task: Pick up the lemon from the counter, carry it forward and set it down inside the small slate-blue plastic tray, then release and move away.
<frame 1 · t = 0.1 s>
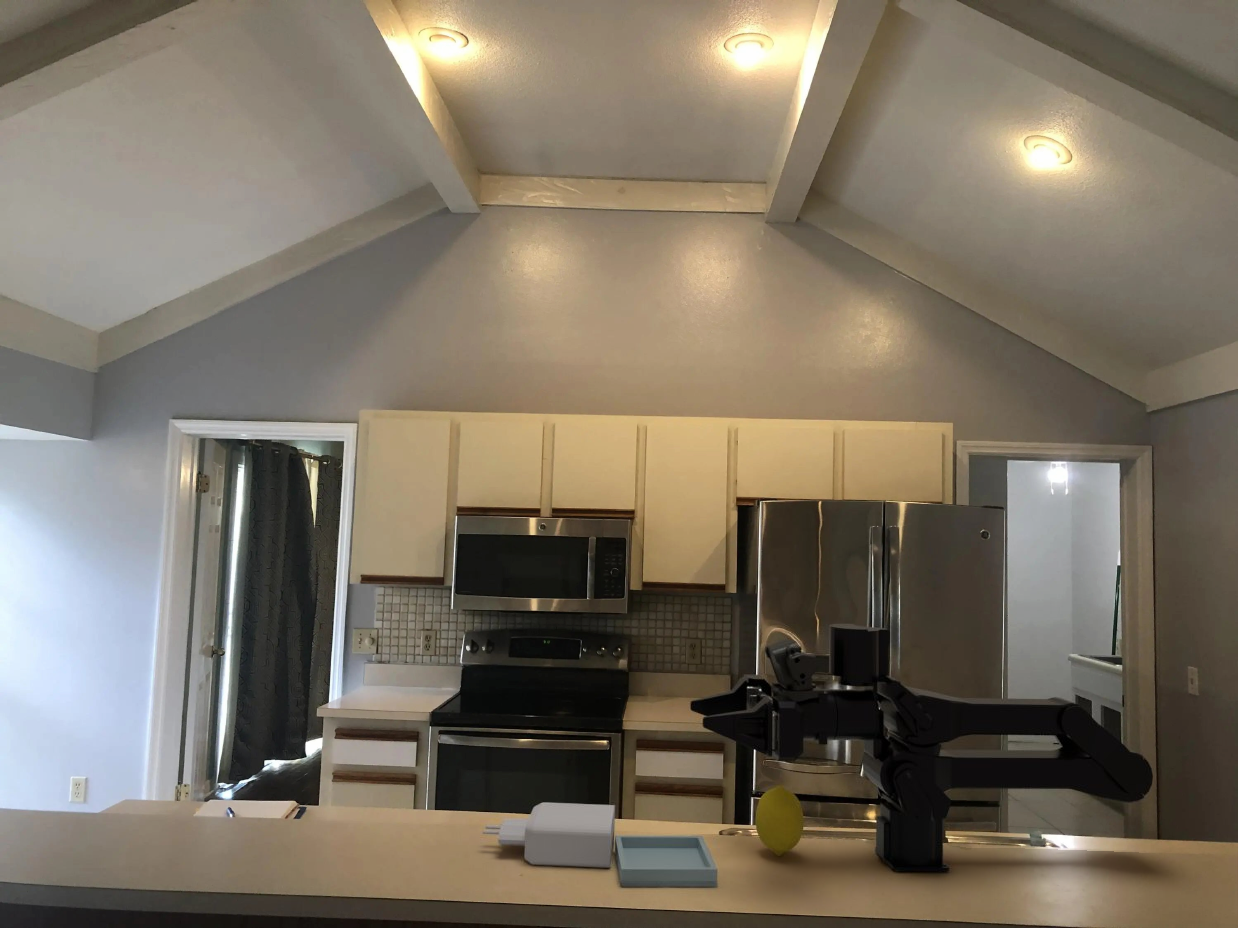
hand: (696, 713, 103), 17 cm above the counter, tool horizontal, fingers open, 9 cm apart
tray: (663, 867, 99), on the counter
charger: (547, 855, 103), on the counter
lemon: (778, 856, 104), on the counter
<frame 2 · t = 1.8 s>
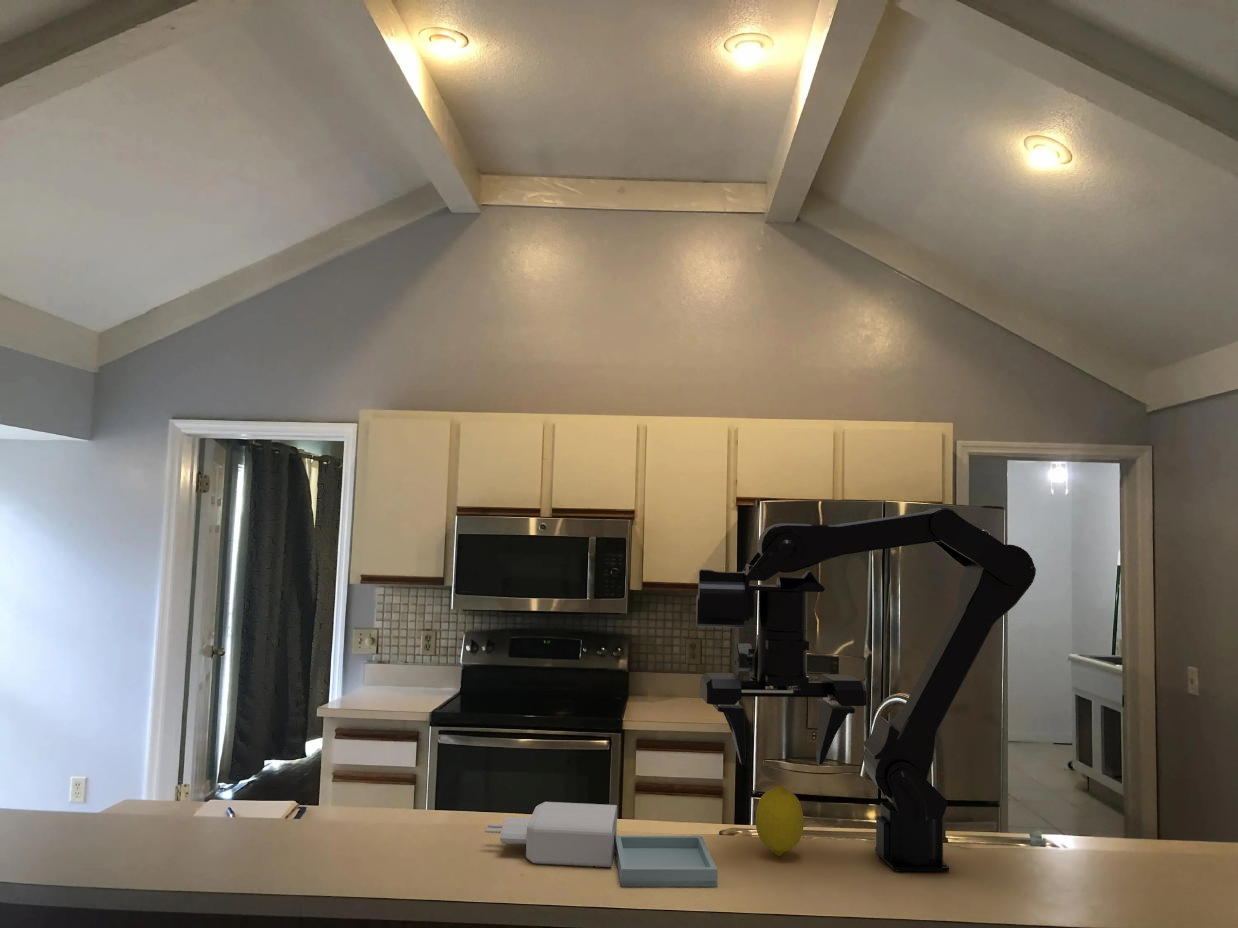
hand: (781, 763, 105), 10 cm above the counter, tool pointing down, fingers open, 9 cm apart
nothing on the counter moved.
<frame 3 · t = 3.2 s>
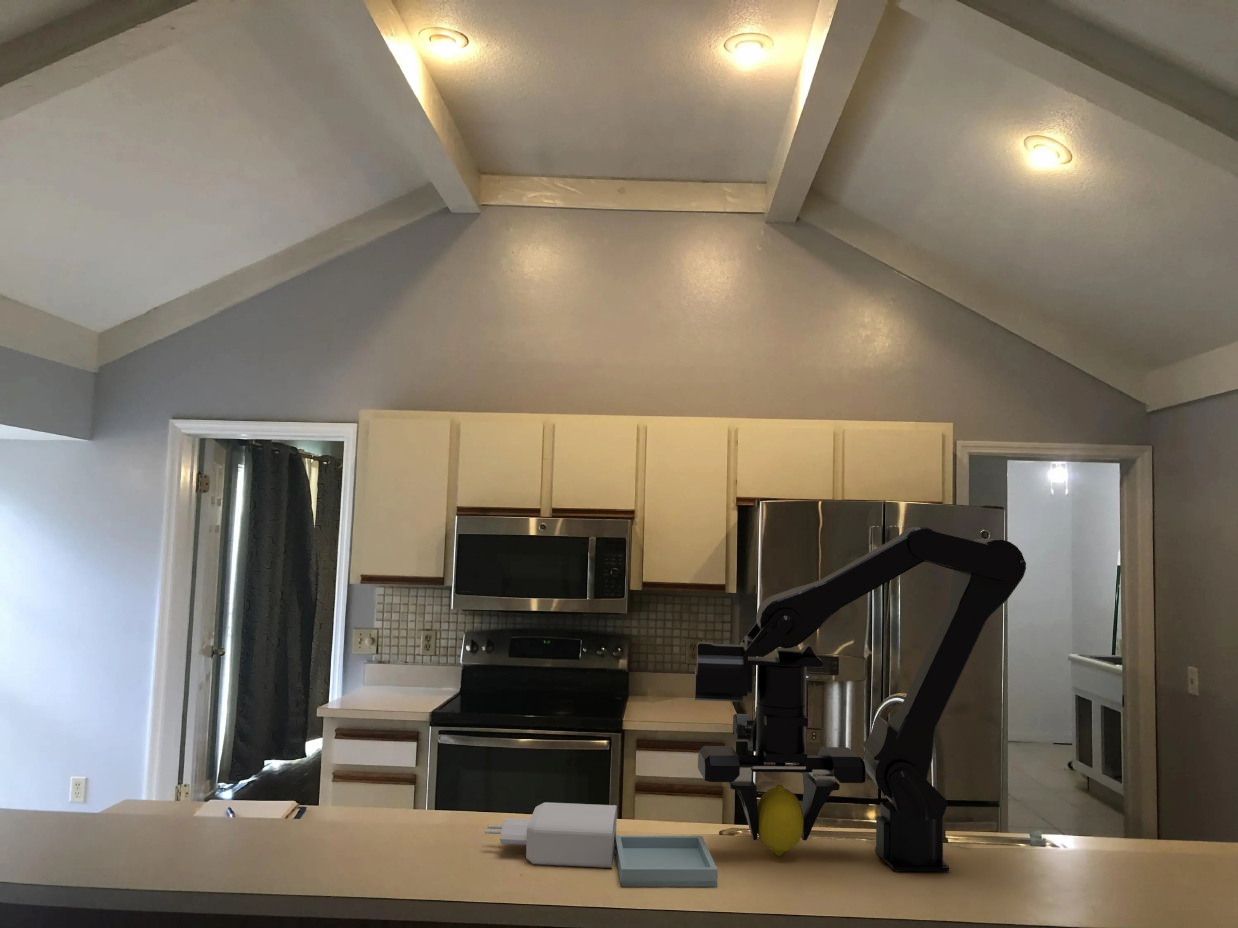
hand: (779, 839, 104), 2 cm above the counter, tool pointing down, fingers closed on lemon, 5 cm apart
lemon: (778, 856, 104), on the counter, touching gripper
everything else where it was.
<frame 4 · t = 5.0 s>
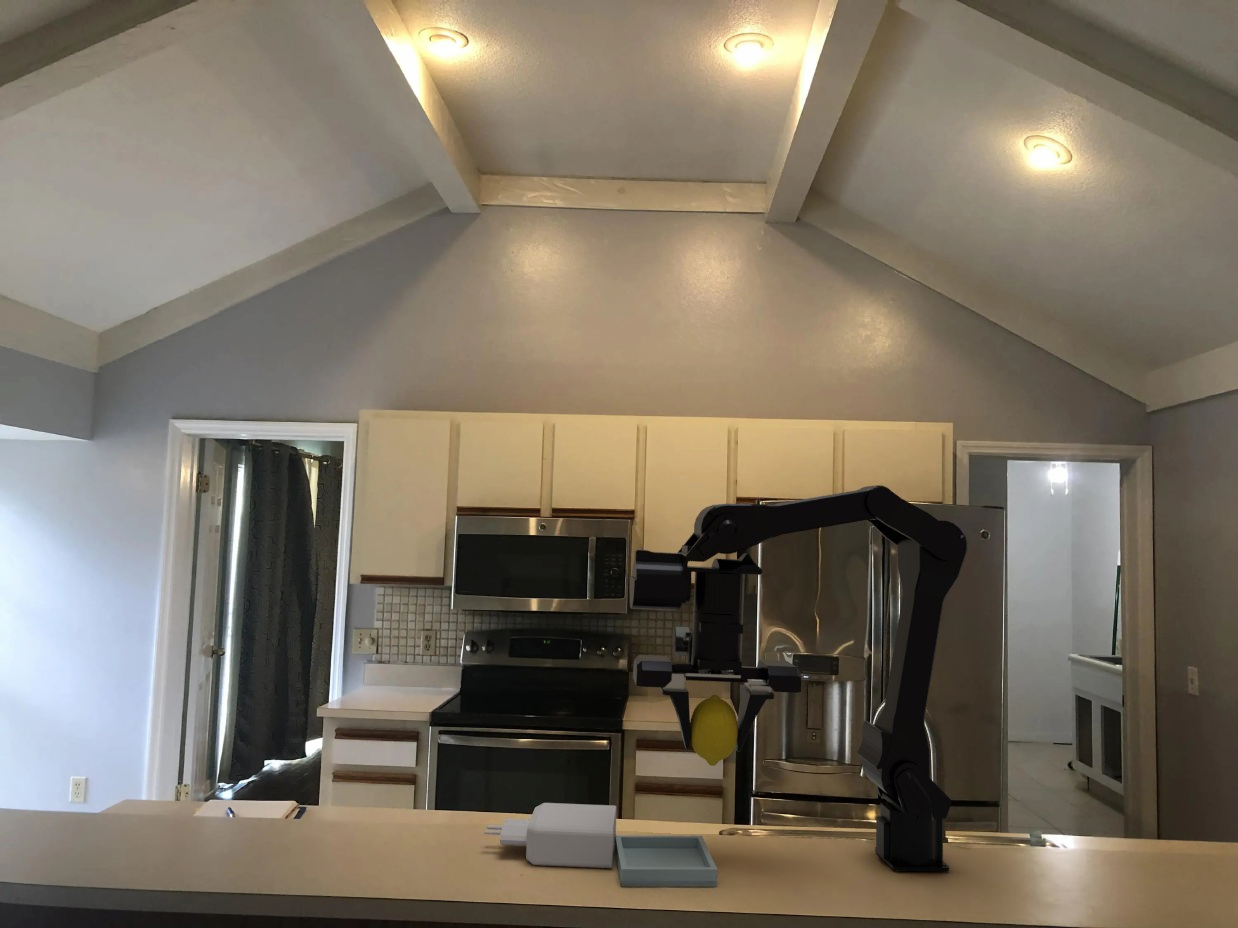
hand: (712, 749, 102), 13 cm above the counter, tool pointing down, fingers closed on lemon, 5 cm apart
lemon: (712, 767, 102), point 11 cm above the counter, touching gripper
everything else where it was.
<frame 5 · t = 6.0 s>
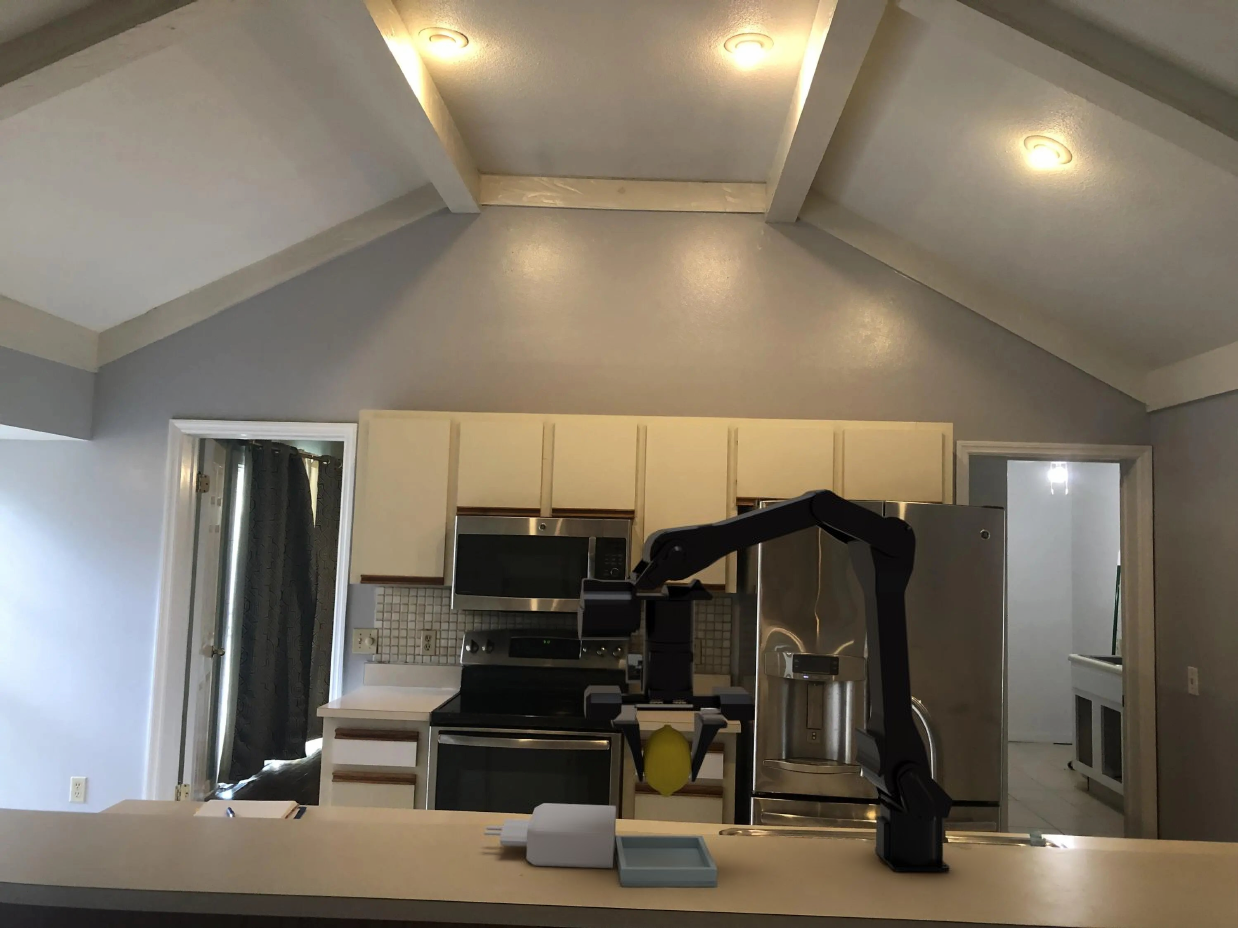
hand: (666, 780, 100), 9 cm above the counter, tool pointing down, fingers closed on lemon, 5 cm apart
lemon: (666, 798, 100), point 7 cm above the counter, touching gripper
everything else where it was.
when the fingers open (4 cm above the counter, at t = 7.3 s): lemon drops 1 cm, resting on tray.
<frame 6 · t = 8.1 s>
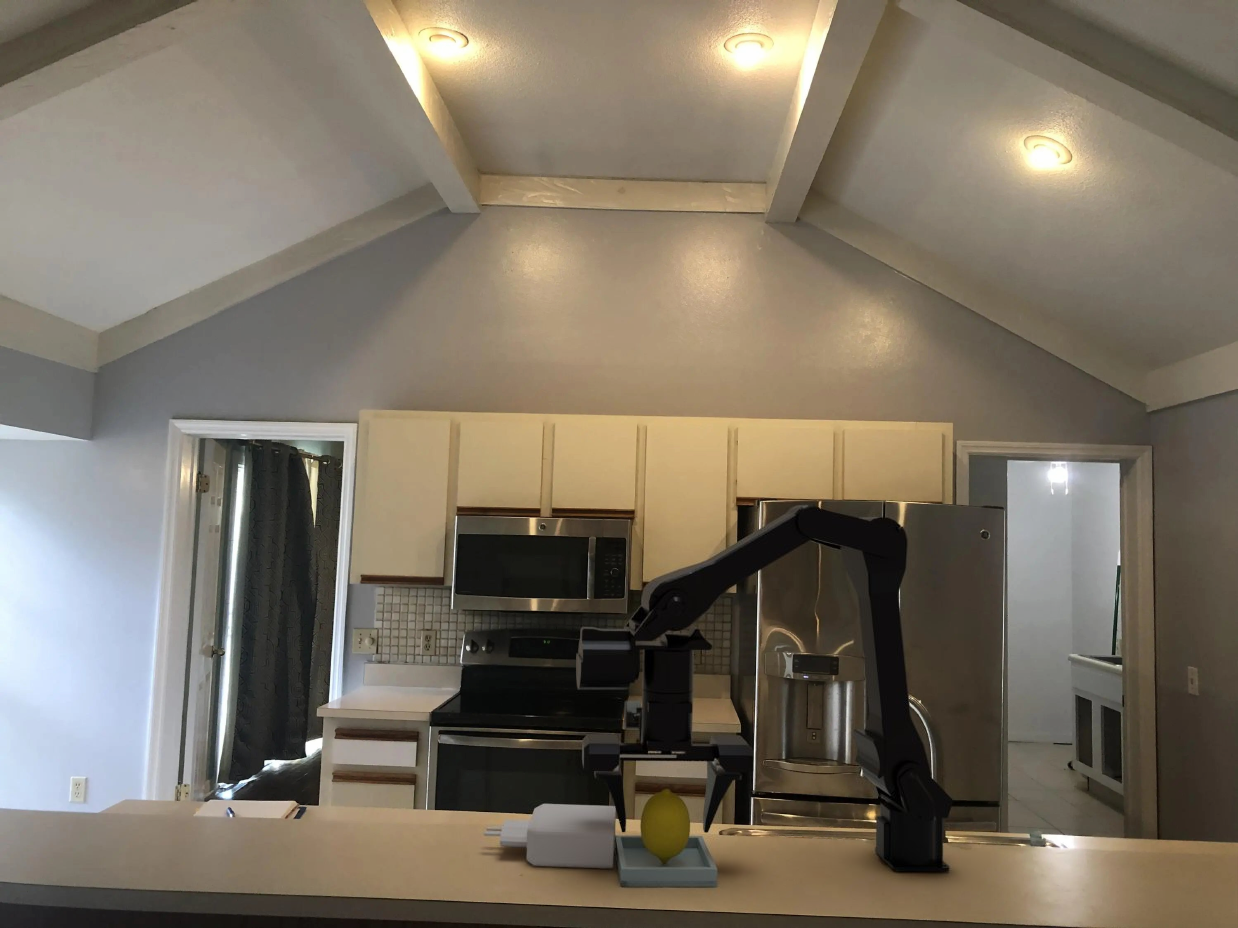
hand: (664, 831, 100), 4 cm above the counter, tool pointing down, fingers open, 9 cm apart
lemon: (664, 864, 99), resting on tray
everything else where it was.
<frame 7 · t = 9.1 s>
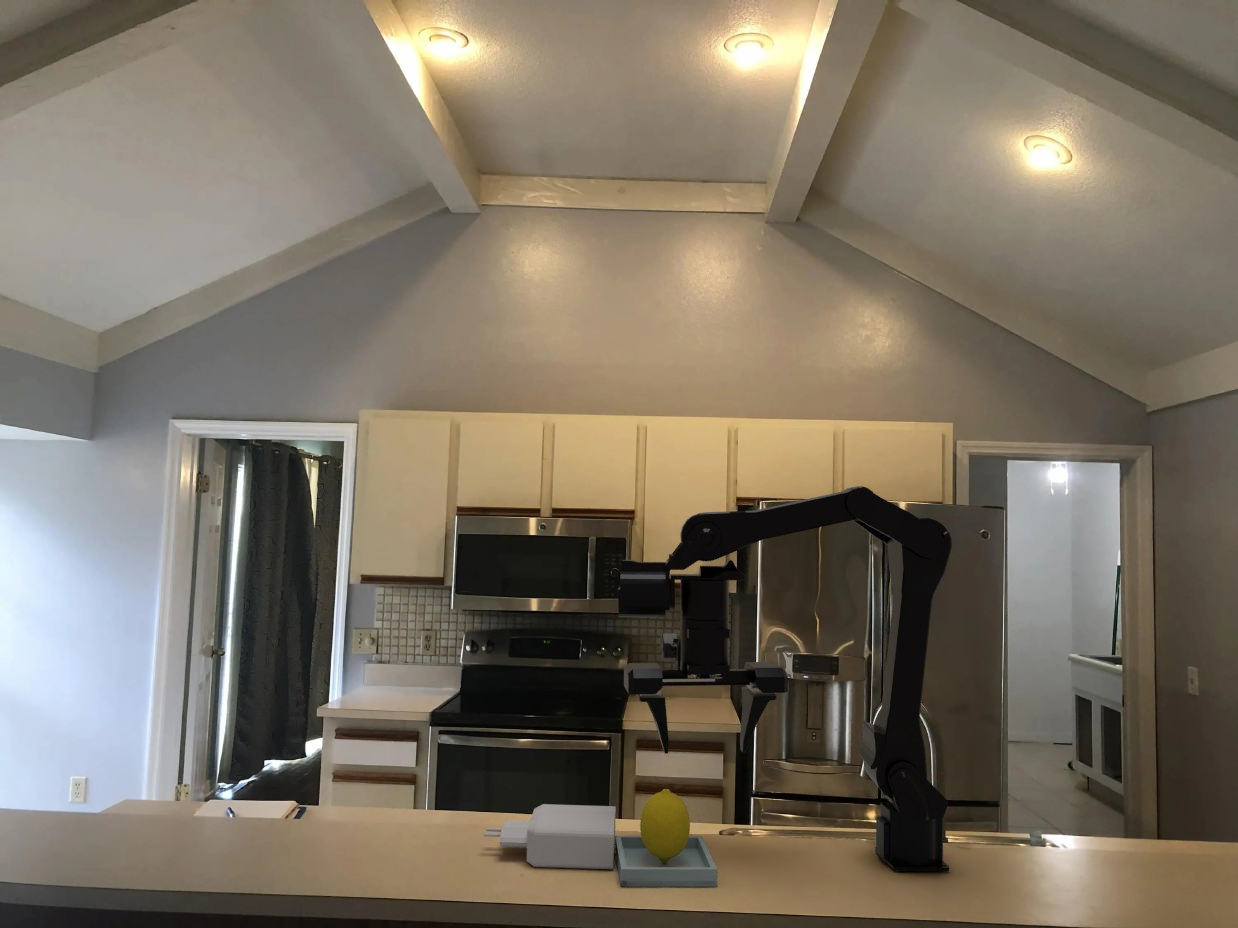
hand: (704, 751, 105), 12 cm above the counter, tool pointing down, fingers open, 9 cm apart
nothing on the counter moved.
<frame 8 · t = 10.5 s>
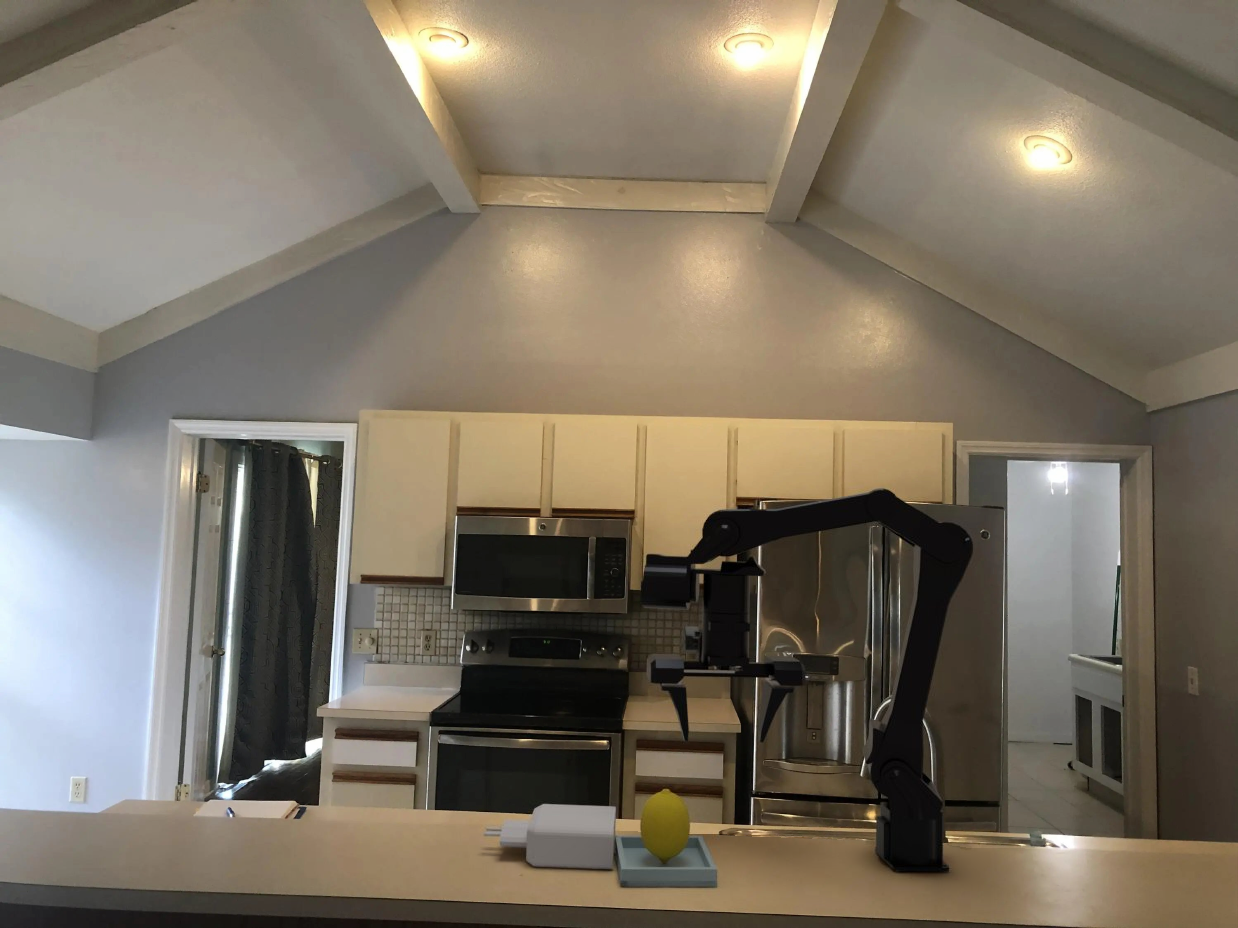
hand: (723, 741, 109), 12 cm above the counter, tool pointing down, fingers open, 9 cm apart
nothing on the counter moved.
at the end: lemon inside the target area on the tray (0.1 cm from its centre), point 0.4 cm above the tray's base; the gripper is holding nothing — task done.
